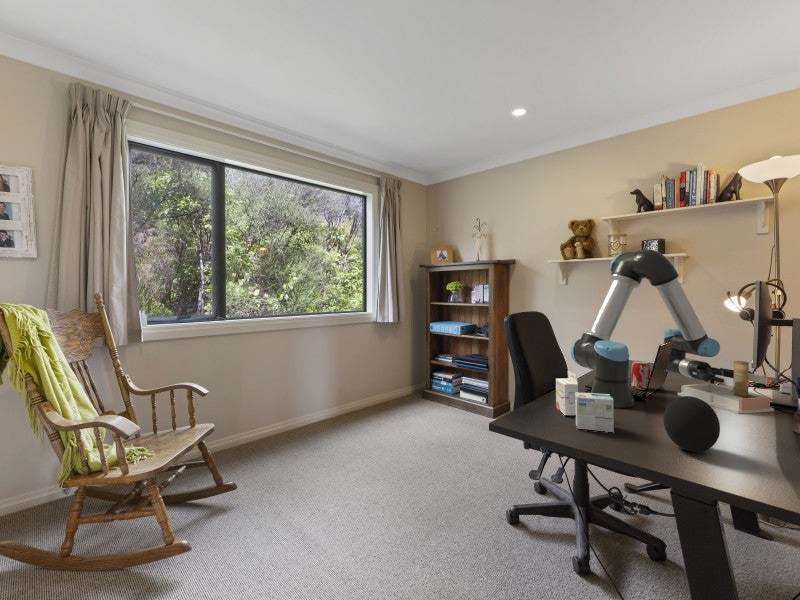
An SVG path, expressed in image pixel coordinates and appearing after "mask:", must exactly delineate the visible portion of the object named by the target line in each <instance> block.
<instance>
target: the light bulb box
mask: <svg viewBox="0 0 800 600" xmlns="http://www.w3.org/2000/svg"><path fill="white" fill-rule="evenodd" d="M614 409H615V407H614V404H613V398H612V397H611V396H610V394H596V393H591V392H579V391H578V392H575V412H576V417H575V426H577V427H576V429H577V428H578V429H588V430H597V431H605V432H604V433H608V432H613V433H612V434H614V433H615V429H614V428H615V426H614V425H615V418H614V417H615V416H614V414H615V412H614V411H615V410H614ZM597 431H596V432H597Z"/></svg>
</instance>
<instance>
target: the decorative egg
mask: <svg viewBox="0 0 800 600" xmlns="http://www.w3.org/2000/svg"><path fill="white" fill-rule="evenodd" d="M663 426H664V430H665V431H666V434H667V435H668V437H669V439H670V440H671V441H672V442H673V444H675V445H676V446H678V447H679V448H680V449H682V450H685V451H687V452H692V453H702V452H705V451H708V450H709V449H711V448H712V447H713V446H715V444H716V443H717V441H718V440H719V438H720V434H721V433H720V432H721V423H720V420H719V417H718V415H717V413H716V411H715V410H714V408H713V406H711V405H708V404H707V403H706V402H705V401H703V400H701V399H699V398H696V397H692V396H679V397H676V398H674V399H672V400H671V401H670V402H669V403H668V404H667V406H666V407H665V410H664V412H663Z"/></svg>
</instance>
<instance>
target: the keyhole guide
mask: <svg viewBox="0 0 800 600" xmlns="http://www.w3.org/2000/svg"><path fill="white" fill-rule="evenodd" d="M680 389H681V392H677V396H679V397H682V396H692V397H696V398H699V399H701V400H703V401H705V402H706V403H707V404H708V405H710V406H711V407H715V408H718V409H721V410H724V411H727V412H730V413H734V414H736V415H740V414H741V415H742V414H754V413H764V412H766V413H767V412H774V411H775V408H773V407H771V406H770V404H771V403H770V402H771V397H769V396H765V395H762V394H757V393H753V392H749V391H748V398H743V397H739V396H736V395H734V388H729V387H725V386H722V385H717V384H715V383H714V384H711V383H699V384H697V383H696V384H683V385H681V387H680Z"/></svg>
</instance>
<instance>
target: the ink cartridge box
mask: <svg viewBox="0 0 800 600" xmlns="http://www.w3.org/2000/svg"><path fill="white" fill-rule="evenodd" d="M575 392H578V393H579V382H578V375H577V374H575V373H573V372H572V371H570V370H567V378H561V377H560V378H555V409H556V408H557V409H558V410H560V411H561V412H562V413H563V414H564V415H576V412H575ZM557 409H556V410H557ZM558 410H557V411H558ZM563 414H562V415H563ZM564 415H563V416H564Z"/></svg>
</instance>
